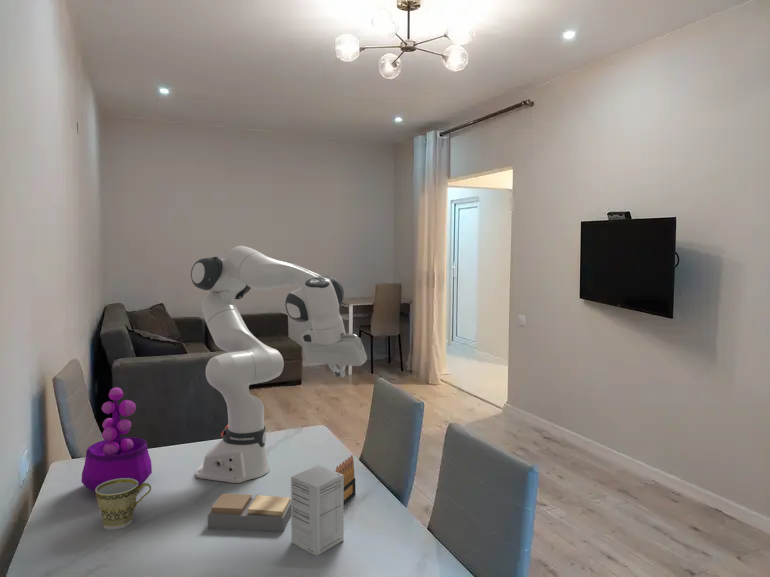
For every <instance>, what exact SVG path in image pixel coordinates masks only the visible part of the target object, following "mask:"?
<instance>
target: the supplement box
mask: <svg viewBox="0 0 770 577" xmlns="http://www.w3.org/2000/svg"><path fill="white" fill-rule="evenodd" d="M290 488H291V489H290V492H291V493H290V500H291V517H290V520H291V522H290V523H291V524H290V525H291V526H290V528H291V534H290V535H291V544H293V545H295V546H296V547H299V548H300V549H302V550H304V551H306V552H308V553H310V554H312V555H313V556H315V557H318V556H319V555H321V554H323V553H324V552H326V551H328V550H329V549H331V548H333V547H334V546H337V545H338V544H340V543H341V542H343V541H344V538H345V537H344V534H345V533H344V523H345V522H344V521H345V520H344V518H345V517H344V514H345V513H344V509H345V508H344V506H345V505H344V475H343V474H340V473H337V472H336V470H335V471H334V470H331V469H330V468H327V467H323V466H322V465H316V466H313V467H311V468H309V469H306V470H303V471H301V472H300V473H297V474H294V475H292V476H291V477H290Z"/></svg>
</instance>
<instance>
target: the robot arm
mask: <svg viewBox="0 0 770 577" xmlns="http://www.w3.org/2000/svg"><path fill="white" fill-rule="evenodd" d="M190 278H191V282H192V285H193V286H194V287H196V288H198V289H200V290H202V291H203V290H204V291H209V293H207V294H206V295H204V297H203V298H202V300H201V311H202V314H203V319H204V321H205V324H206V326H207V329H208V330H209V333H210V335H211V337H212V340H213V342H214V345H216V347H218V348H219V349H220V350H221V351H225V353H220V354H218V355H216V356H213V357H211V358H210V359H209V360H208V362H207V364H206V366H205V377H206V381H207V382H208V384H209V385H210V386H211V387H212V388H214V389H216V390H217V391H218V392H219V393H220V394H221V395H222V397H223V399H224V401H225V403H226V408H227V420H228V421H227V422H228V423H227V425H226V426H225V427H224V429H223V430H222V432H221V433H220V437H221V438H222V439H221V440H220V441H219V442H217V443H216V444H215V445H213V446H212V447H211V448H210V449H208V450H207V452H206V454H205V456H204V459H203V463H201V464H200V465H199V466H198V467H197V469H196V471H195V477H196V478H197V479H202V480H209V481H210V480H211V481H218V482H225V483H233V484H240V483H243V482H246V481H248V480H254V479H258V478H261V477H262V476H264V475H265V476H266V474H267V473H268V472H269V471H270V465H269V463H268V459H267V454H266V440H267V431H266V426H265V406H264V403H263V401H262V400H261V398H259V397H257V396H256V395H253V394H251V393H250V386H251V385H254V384H255V385H257V384H259V383H260V384H261V383H265V382H269V381H272V380H274V379H276V378H278V377H280V375H281V374H282V373H283V370H284V364H285V363H284V358H283V355H282V354H281V353H280V351H279V350H277V349H276V348H272V347H271V346H268V345H267V344H265V343H263V342H262V341H260V339H258V338H257V337H256V336H254V334H253V333H252V332H251V331H250V330H249V328H248V327H247V325H246V323H245V321H244V320H243V319H244V318H243V317H242V315H241V314H240V311H239V310H238V307H237V306H236V302H235V301H236V300H240V299H243V297H244V296H245V294H247V293H248V292H249V291H251V289H253V290H255V291H256V290H257V291H262V292H263V291H269V290H273V289H277V288H280V287H281V288H282V287H287V286H294V287H295V286H296V287H298V288H296V289H294V290H292V291H291V292H289V293H288V294H287V296H286V298H285V302H284V303H285V304H284V305H285V310H286V312H287V315H288V317H289V318H290V319H291V320H293V321H295V322H298V323H306V322H310V323H311V328H310V329H308V330H306V331H305V332H303V334H301V335H300V340H301V342H302V350H303V353H304V358H305V360H306V361H307V362H308V363H314V364H315V363H316V364H325V365H327V364H328V365H327V366H328V367H329V369H330V370H331V371H332V373H333V376H334V377H335V378H344V377H346V367H347V366H352V367H361V366H362V365H364V364H365V363H366V362H367V360H368V356H367V353H366V349H365V347H364V345H363V343H362V339H361V337H359V336H358V335H356V334H355V333H346V329H345V325H344V322H343V321H344V320H343V318H342V315H341V314H340V307H341V306H342V303H343V301H344V298H345V291H344V290H345V289H344V287H343V285H342V284H341V282H340V281H338V280H337V279H336V278H334V277H332V276H329V275H322V274H318V273H316V272H315V271H312V270H309V269H307V268H305V267H302V266H300V265H298V264H296V263H293V262H289V261H282V260H279V259H275V258H272V257H269V256H267V255H266V254H263V253H262V252H260V251H258V250H256V249H254V248H252V247H248V246H245V245H238V246H237V245H236V246H235V247H233V248H232V249H231V250H230V251H229V252H228V253H227V256H226V257H225V258H219V257H218V256H213V257H204V258H200V259H198V260H196V262H194V263H193V265H192V267H191V271H190Z"/></svg>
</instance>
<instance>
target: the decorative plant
mask: <svg viewBox="0 0 770 577" xmlns="http://www.w3.org/2000/svg"><path fill="white" fill-rule="evenodd" d="M108 397H109V400H108V401H106V402H104V403H103V404H102V406H101V411H102V412H103V413H104V414H106V415H110V414H111V413H112V415H111V416H112V417H107V418H105V419H104V420H103V422H102V425H101V426H102V428H103V431H102V433H101V435H102V438H103V440H101V441H100V440H99V441H97V442H95V443H93V444H91V445H89V447H88V448H86V451H85V452H86V453H85V458H84V460H85V461H84V466H83V468H82V472H81V483H82V484H83V485H84V486H85V488H86V489H88V490H89V491H91V492H95V489H96V487H97V486H98V485H100V484H102V483H104V482H106V481H109V480H113V479H119V478H131V479H135V480H137V481H138V483H139V484H138V486H140V485H141V484H144V483H146V482H145V481H147V479H148V478H149V477H150V475H151V474H152V473H153V471H152V469H153V468H152V467H153V466H152V459H151V455H150V454H149V449H148V444H147V441H146V440H145V439H143V438H140V437H135V436H134V437H132V436H123V435H127V434H128V433H129V431H130V430H131V427H132V422H131V421H130V420H129V419H127V418H121V416H123V417H130V416H131V415H133V414H134V413H135V411H136V410H137V406H136V403H135V402H134V401H133V400H129V399H125V400H122V402H120V403H118V401H119V400H121V399H122V398H123V397H124V392H123V389H122V388H120V387H112V388H111V389H110V390H109V393H108ZM110 400H111V401H110ZM113 401H114V402H113ZM121 435H122V436H121ZM95 493H96V492H95Z"/></svg>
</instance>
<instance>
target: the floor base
mask: <svg viewBox="0 0 770 577" xmlns="http://www.w3.org/2000/svg"><path fill="white" fill-rule="evenodd" d="M255 498H256V497H253V496H252V494H243V493H242V494H241V493H240V494H239V493H222V494H221V495H220V496H219V497H218V499H217V500H216V501H215V502H214V503H213V505H212V506H210V509H211V510H210V511H209V512H208V514H207V528H208V529H217V530H218V529H219V530H220V529H221V530H242V531H260V532H262V531H263V532H280V533H281V532H282V533H283V532H284V531H285V530H286V528H287V526H288V524H287V523H289V522H288V521H290V520H291V499H290V503H289V504H288V506H287V508H286V510H285V512H284V514H283V516H277V515H265V514H252V513H248V508H249V507H250V505H251V504H252V502H253V501H254V499H255Z"/></svg>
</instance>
